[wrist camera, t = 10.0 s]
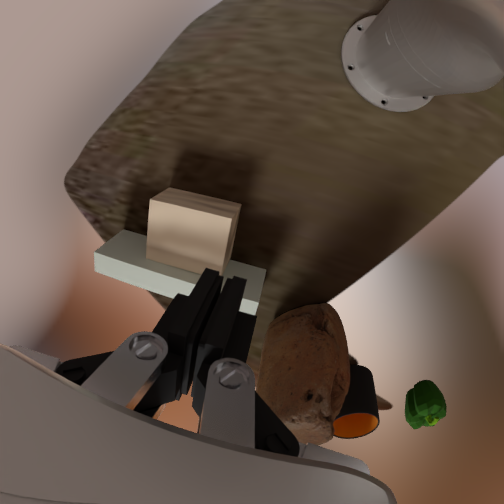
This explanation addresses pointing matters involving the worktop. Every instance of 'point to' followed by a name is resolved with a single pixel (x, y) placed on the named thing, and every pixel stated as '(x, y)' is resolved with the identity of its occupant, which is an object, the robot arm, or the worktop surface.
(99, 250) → the sage board
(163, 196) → the beech block
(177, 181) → the worktop surface
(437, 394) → the bell pepper
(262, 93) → the worktop surface
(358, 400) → the mug
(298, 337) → the brown rounded tall lump
